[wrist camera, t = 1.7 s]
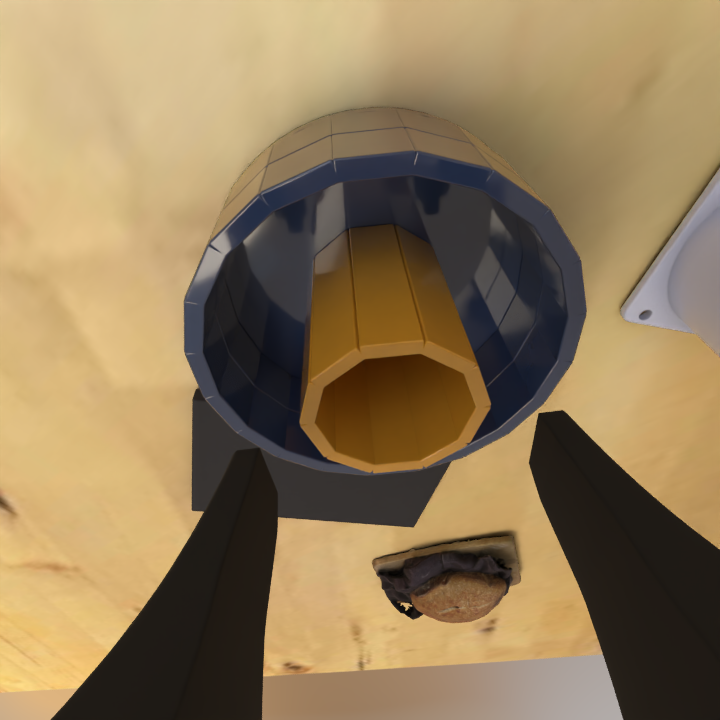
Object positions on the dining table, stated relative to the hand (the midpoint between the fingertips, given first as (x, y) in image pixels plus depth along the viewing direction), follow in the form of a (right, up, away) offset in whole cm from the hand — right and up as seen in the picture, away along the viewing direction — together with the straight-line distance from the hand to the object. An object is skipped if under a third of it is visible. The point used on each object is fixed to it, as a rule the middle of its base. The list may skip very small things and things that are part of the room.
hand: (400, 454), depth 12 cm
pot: (-1, +6, +7) cm, 9 cm away
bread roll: (+6, -13, +24) cm, 28 cm away
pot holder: (-3, -3, +14) cm, 15 cm away
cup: (0, +5, +6) cm, 8 cm away
